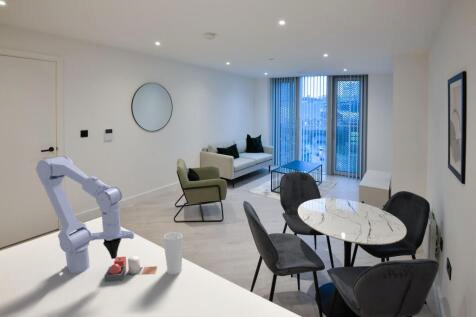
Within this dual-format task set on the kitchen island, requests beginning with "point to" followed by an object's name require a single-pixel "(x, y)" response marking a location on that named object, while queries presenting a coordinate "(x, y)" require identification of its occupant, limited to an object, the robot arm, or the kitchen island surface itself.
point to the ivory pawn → (134, 265)
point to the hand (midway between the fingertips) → (114, 257)
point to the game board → (145, 270)
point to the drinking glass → (173, 252)
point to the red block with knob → (120, 261)
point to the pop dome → (115, 269)
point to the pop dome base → (115, 275)
